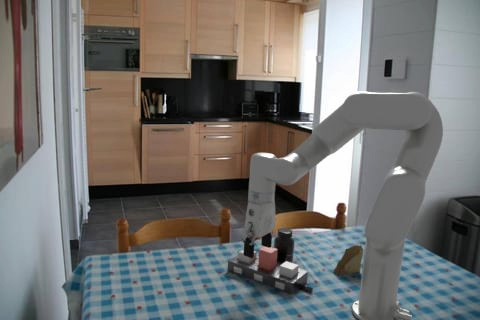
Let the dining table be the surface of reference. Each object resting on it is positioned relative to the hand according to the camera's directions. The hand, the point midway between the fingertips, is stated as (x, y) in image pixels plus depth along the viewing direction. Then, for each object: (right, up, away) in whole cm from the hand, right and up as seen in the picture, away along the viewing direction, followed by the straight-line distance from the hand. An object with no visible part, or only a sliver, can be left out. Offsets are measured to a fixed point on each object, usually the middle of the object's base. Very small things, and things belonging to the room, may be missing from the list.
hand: (257, 251), depth 127 cm
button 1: (+9, -10, +3) cm, 14 cm away
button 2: (+3, -6, +7) cm, 10 cm away
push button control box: (+5, -10, +6) cm, 13 cm away
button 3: (-3, -8, +11) cm, 14 cm away
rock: (+30, -10, +14) cm, 35 cm away
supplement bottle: (+9, -8, +18) cm, 21 cm away
